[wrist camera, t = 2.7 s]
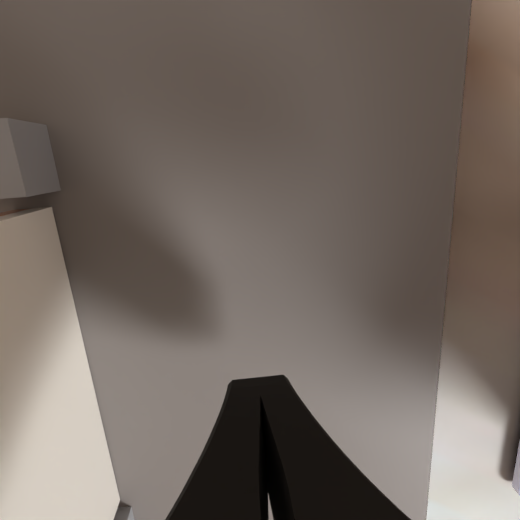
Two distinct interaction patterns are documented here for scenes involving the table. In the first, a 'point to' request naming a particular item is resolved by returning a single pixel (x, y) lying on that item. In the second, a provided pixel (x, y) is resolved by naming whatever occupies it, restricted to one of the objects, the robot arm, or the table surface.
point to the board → (245, 213)
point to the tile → (46, 385)
